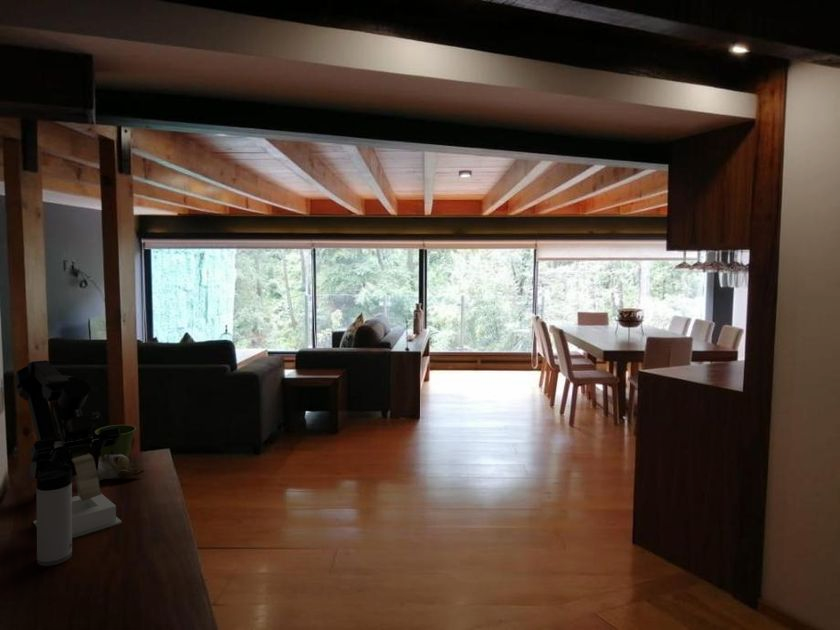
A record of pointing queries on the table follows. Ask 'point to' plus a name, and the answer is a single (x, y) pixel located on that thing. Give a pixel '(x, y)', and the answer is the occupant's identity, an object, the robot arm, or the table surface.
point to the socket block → (92, 515)
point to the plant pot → (120, 440)
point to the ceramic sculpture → (116, 467)
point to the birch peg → (86, 477)
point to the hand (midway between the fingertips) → (85, 473)
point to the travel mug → (54, 515)
